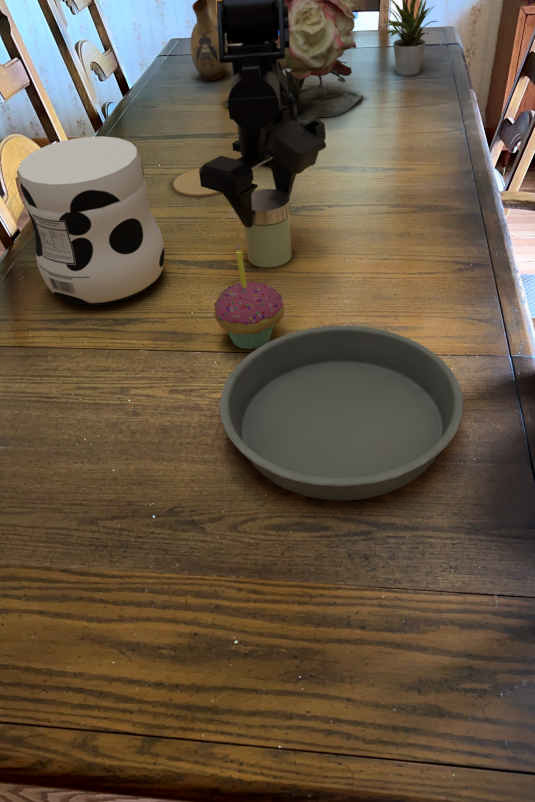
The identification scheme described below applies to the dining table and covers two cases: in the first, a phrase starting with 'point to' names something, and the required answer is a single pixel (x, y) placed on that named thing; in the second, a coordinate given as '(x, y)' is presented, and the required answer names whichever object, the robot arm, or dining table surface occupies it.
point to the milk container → (92, 220)
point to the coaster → (191, 184)
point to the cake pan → (341, 411)
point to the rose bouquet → (318, 55)
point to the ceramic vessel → (207, 41)
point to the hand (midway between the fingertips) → (266, 215)
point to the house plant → (408, 38)
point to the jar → (269, 244)
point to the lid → (270, 206)
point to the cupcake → (248, 310)
